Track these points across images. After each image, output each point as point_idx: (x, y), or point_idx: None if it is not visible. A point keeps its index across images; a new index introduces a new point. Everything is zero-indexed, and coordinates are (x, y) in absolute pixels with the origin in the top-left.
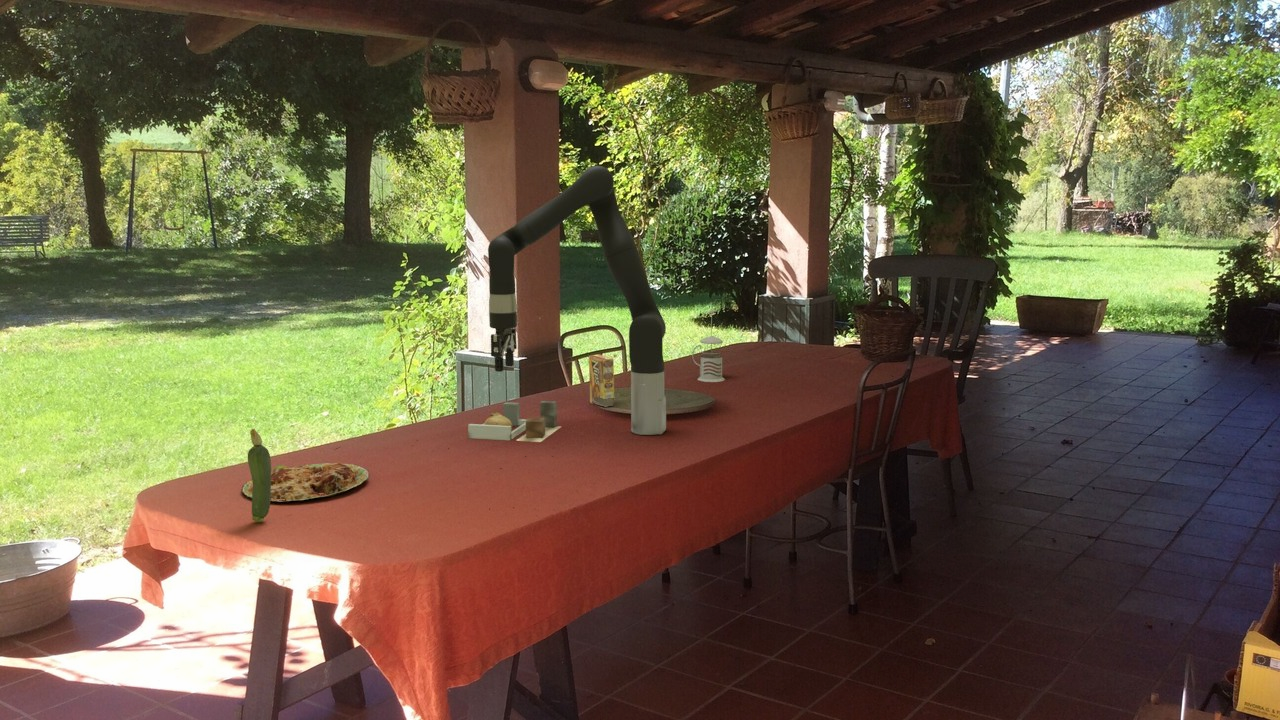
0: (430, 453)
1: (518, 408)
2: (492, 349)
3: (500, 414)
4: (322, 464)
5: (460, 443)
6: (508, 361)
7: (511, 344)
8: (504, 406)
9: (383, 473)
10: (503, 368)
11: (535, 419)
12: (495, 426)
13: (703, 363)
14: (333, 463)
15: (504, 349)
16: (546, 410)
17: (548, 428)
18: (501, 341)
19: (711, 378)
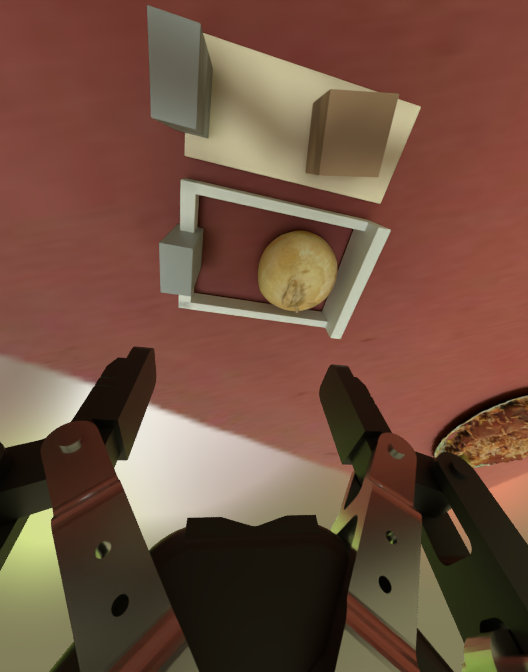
0: (394, 358)
1: (175, 240)
2: (465, 546)
3: (294, 281)
4: (440, 444)
5: None
6: (146, 389)
7: (137, 529)
8: (192, 288)
9: (486, 384)
10: (338, 371)
11: (353, 136)
12: (370, 273)
13: None
14: (445, 437)
15: (400, 500)
16: (202, 95)
17: (227, 98)
18: (421, 634)
19: None
